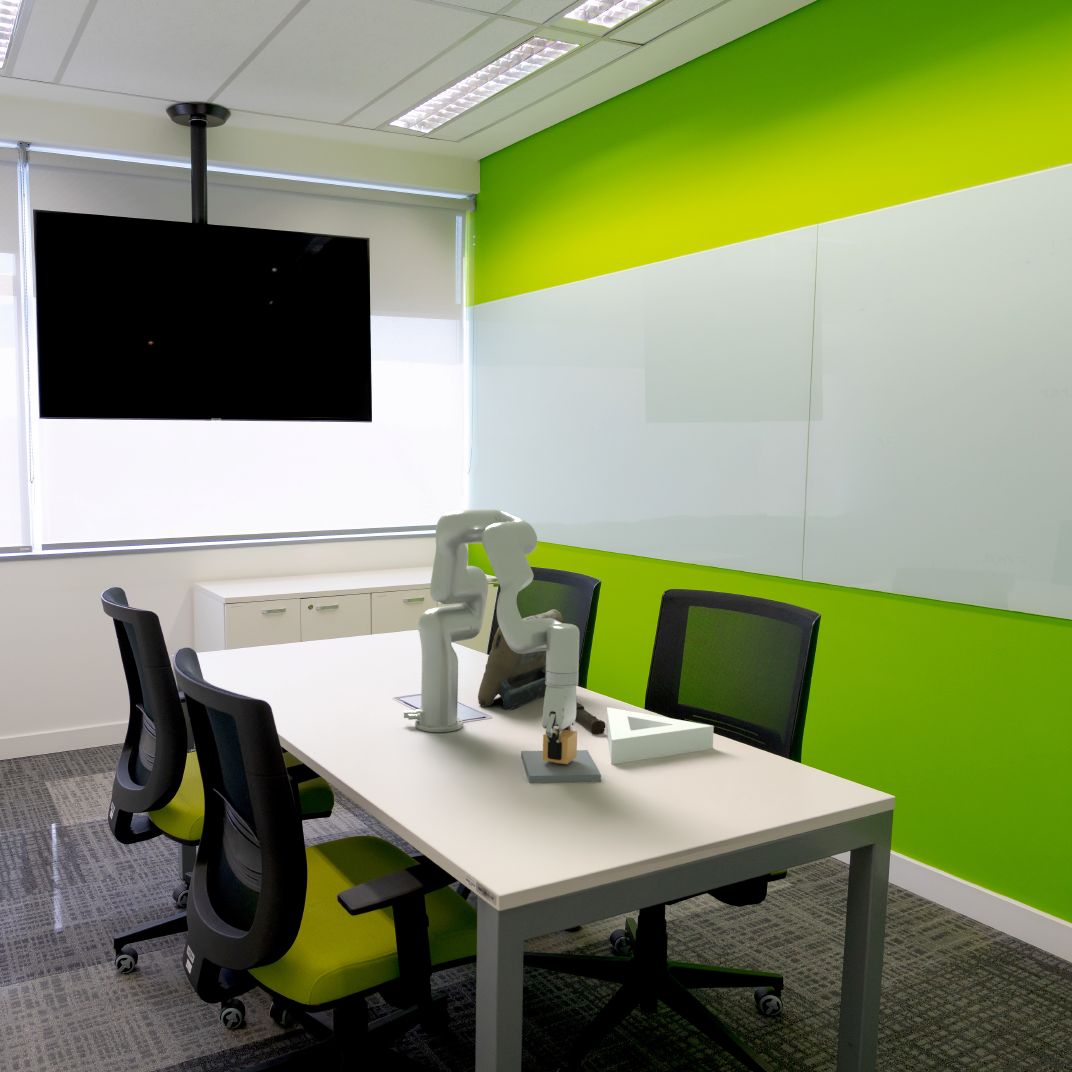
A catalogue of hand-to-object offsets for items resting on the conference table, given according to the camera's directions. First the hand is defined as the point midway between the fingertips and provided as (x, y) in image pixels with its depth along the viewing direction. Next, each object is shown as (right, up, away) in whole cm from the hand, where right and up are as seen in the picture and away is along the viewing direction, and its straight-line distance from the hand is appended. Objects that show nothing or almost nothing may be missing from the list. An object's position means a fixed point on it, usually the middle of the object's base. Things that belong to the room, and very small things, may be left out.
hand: (559, 754), depth 226 cm
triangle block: (+26, -3, +19) cm, 32 cm away
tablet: (-10, +2, +66) cm, 67 cm away
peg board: (0, -3, 0) cm, 3 cm away
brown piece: (+7, -1, +37) cm, 38 cm away
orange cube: (0, -1, 0) cm, 1 cm away
